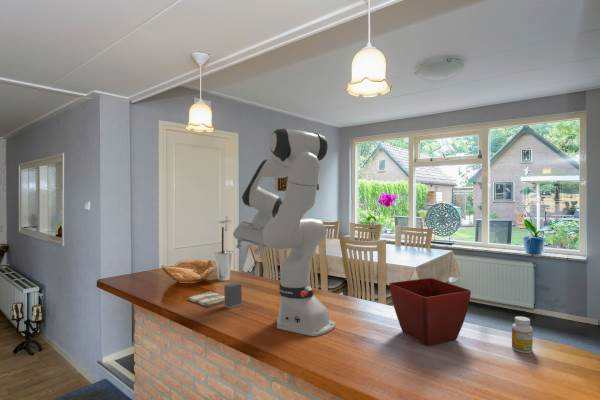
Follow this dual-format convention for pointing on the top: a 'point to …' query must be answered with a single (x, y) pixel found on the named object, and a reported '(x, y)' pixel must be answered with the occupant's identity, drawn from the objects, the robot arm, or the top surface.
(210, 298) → the board
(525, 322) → the supplement bottle
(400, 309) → the plant pot
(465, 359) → the top surface
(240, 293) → the block
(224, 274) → the toilet brush holder
